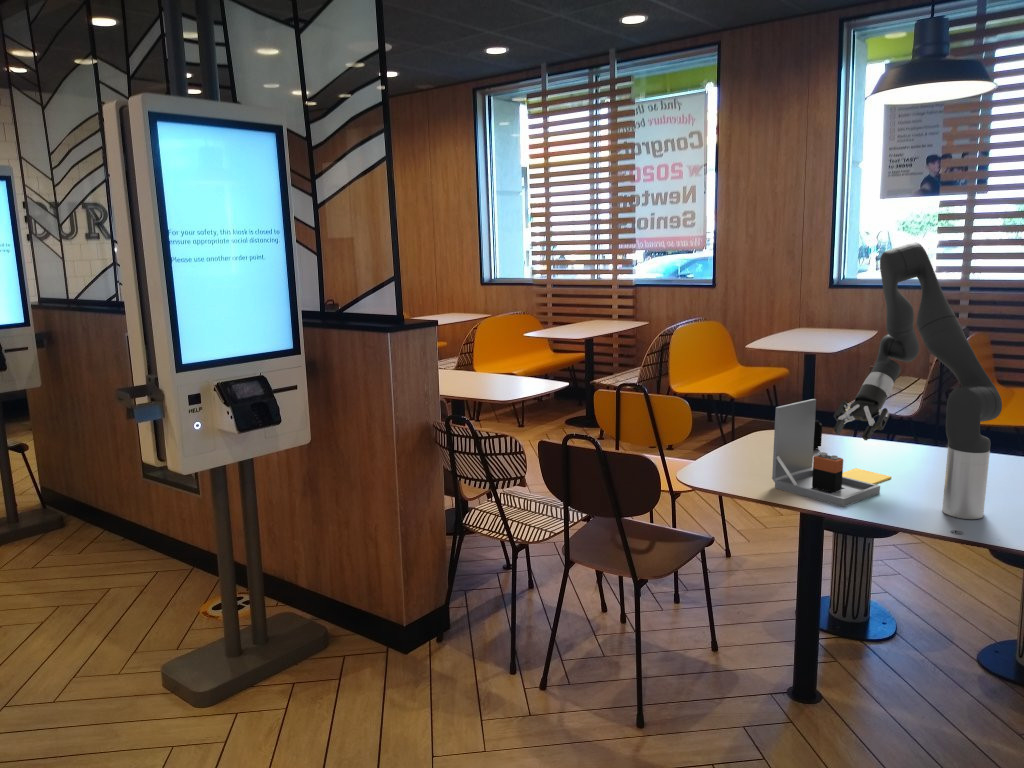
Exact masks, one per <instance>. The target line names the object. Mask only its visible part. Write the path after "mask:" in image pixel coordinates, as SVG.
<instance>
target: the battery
mask: <svg viewBox="0 0 1024 768" xmlns="http://www.w3.org/2000/svg"><path fill="white" fill-rule="evenodd" d="M812 467H813V478H812V487H813V488H815V489H816V490H817V489H818V490H820V491H824V492H829V493H834V492H836V491H839V490H842V489H841V488H842V473H843V472H844V471H843V469H844V459H843V457H838V455H833V454H832V455H829V454H828V452H824V451H820V452H818V455H817V454H816V455H815V456H813V463H812Z"/></svg>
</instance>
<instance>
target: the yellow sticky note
mask: <svg viewBox="0 0 1024 768" xmlns="http://www.w3.org/2000/svg"><path fill="white" fill-rule="evenodd" d="M842 476H843V477H847V478H851V479H855V480H859V481H863V482H867V483H871V484H875V485H879V484H880V483H883V482H885V481H888V480H891V479H892V476H890V475H886V474H882V473H878V472H874V471H870V470H865V469H861V468H858V467H855V468H852V469H850V470H847V471H843V473H842Z"/></svg>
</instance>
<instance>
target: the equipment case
mask: <svg viewBox="0 0 1024 768" xmlns="http://www.w3.org/2000/svg"><path fill="white" fill-rule="evenodd" d="M816 409H817V398H811V399H807V400H802V401H801V400H800V401H797V402H793V403H789V404H785V405H780V406H776V407H775V417H774V434H773V436H774V437H773V455H772V474H771V479H772V481H773V483H774V488H775V489H779V490H781V491H785V492H790V493H792V494H796V495H800V496H803V497H806V498H811V499H813V500H817V501H821V502H824V503H826V504H827V503H828V504H831V505H835V506H837V507H841V508H844V507H847V506H850V505H852V504H855V503H857V502H861V501H863V500H866V499H869V498H871V497H873V496H876V495H879V494H881V493H880V492H881V485H879V484H871V483H867V482H863V481H859V480H855V479H851V478H847V477H843V476H842V488H841V490H839V491H836V492H834V493H833V492H830V493H828V492H826V491H822V490H817V489H816V488H813V487H812V478H813V462H814V448H813V446H814V429H815V420H816Z"/></svg>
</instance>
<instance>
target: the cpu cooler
mask: <svg viewBox="0 0 1024 768" xmlns="http://www.w3.org/2000/svg"><path fill="white" fill-rule="evenodd" d="M822 435H823V424H822V422H820V421H819V419H815V429H814V446H813V450H814V449H817V450H819V447H822V441H823V440H822V439H823V438H822V437H823V436H822Z"/></svg>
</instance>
